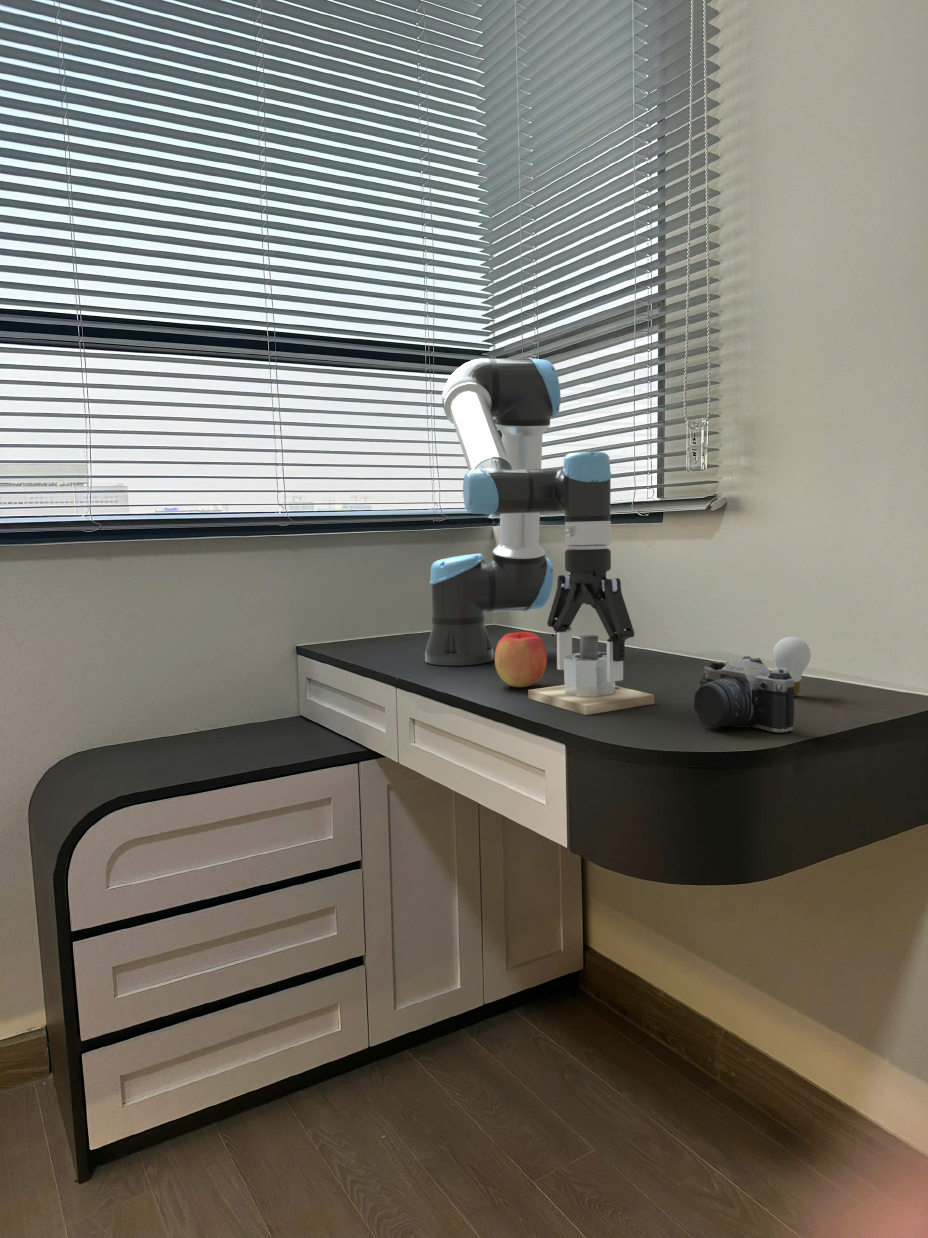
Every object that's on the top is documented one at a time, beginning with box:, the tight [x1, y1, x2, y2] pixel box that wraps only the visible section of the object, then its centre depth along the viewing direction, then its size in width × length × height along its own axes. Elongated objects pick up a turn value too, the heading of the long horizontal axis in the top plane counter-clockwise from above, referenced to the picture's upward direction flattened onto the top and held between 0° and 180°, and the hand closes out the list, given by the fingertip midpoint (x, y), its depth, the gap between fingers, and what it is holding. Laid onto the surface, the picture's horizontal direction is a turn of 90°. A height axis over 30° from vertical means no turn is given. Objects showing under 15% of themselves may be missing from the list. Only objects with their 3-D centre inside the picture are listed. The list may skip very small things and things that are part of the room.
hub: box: [563, 651, 616, 697], centre depth 144 cm, size 8×8×6 cm
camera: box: [693, 655, 795, 734], centre depth 124 cm, size 16×10×10 cm, turn 29°
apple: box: [494, 631, 548, 688], centre depth 159 cm, size 10×10×10 cm
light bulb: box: [772, 636, 812, 697], centre depth 143 cm, size 6×6×10 cm
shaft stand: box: [527, 634, 655, 716], centre depth 144 cm, size 16×14×11 cm
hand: (588, 674), depth 144 cm, fingers open, 13 cm apart
